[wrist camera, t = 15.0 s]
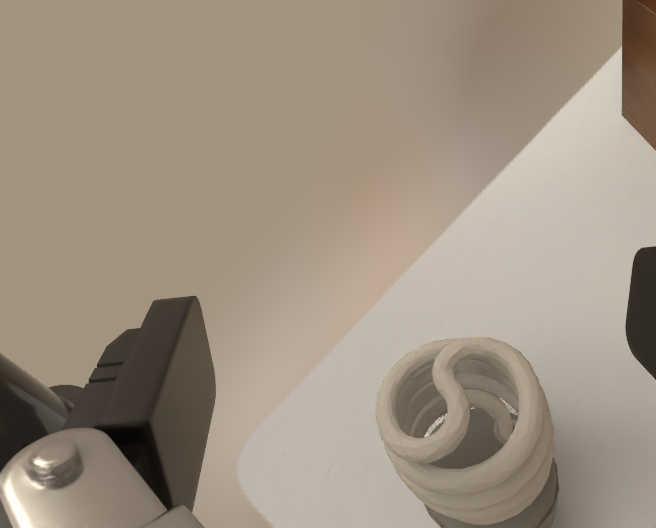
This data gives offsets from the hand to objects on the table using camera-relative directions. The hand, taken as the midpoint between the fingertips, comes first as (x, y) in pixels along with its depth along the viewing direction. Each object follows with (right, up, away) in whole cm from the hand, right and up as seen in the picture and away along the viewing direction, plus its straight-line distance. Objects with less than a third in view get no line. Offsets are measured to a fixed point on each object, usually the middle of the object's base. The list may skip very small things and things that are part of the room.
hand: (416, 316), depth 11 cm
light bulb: (+6, -10, +16) cm, 20 cm away
